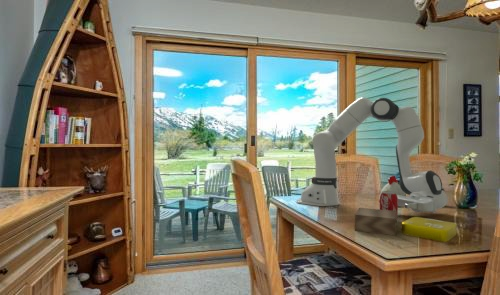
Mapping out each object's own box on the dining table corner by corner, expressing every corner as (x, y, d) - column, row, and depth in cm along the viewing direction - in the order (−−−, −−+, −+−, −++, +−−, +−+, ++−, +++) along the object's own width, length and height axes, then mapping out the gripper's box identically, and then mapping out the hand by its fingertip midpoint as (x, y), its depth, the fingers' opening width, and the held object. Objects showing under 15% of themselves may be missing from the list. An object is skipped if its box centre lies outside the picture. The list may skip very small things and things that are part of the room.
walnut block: (354, 230, 120) (355, 214, 120) (359, 222, 133) (359, 207, 132) (395, 235, 114) (395, 218, 114) (395, 225, 127) (396, 211, 127)
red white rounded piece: (373, 202, 175) (374, 175, 175) (387, 200, 183) (387, 174, 183) (398, 207, 164) (398, 178, 164) (411, 204, 172) (412, 176, 172)
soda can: (399, 222, 132) (399, 193, 132) (381, 221, 133) (381, 193, 133) (395, 218, 139) (395, 191, 139) (378, 217, 140) (378, 190, 140)
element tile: (457, 234, 117) (457, 221, 116) (445, 243, 106) (446, 229, 106) (413, 226, 127) (414, 215, 127) (399, 234, 117) (399, 221, 117)
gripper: (399, 191, 153) (378, 193, 148) (439, 198, 135) (417, 200, 129) (398, 204, 154) (377, 206, 148) (439, 213, 135) (417, 216, 129)
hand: (396, 204), depth 138 cm, fingers open, 8 cm apart
